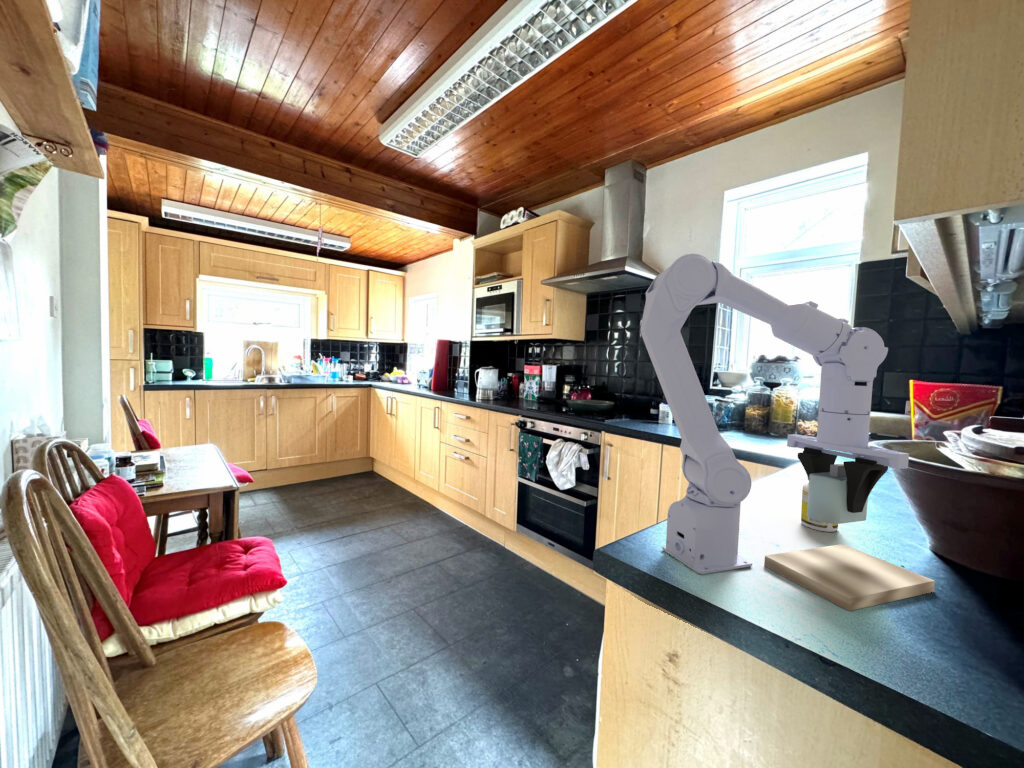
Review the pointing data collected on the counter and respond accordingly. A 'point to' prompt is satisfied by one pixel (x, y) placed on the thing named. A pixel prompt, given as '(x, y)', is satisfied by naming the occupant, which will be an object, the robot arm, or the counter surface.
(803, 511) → the supplement bottle
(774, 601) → the counter surface
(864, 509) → the grey capsule with tab
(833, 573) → the cutting board
